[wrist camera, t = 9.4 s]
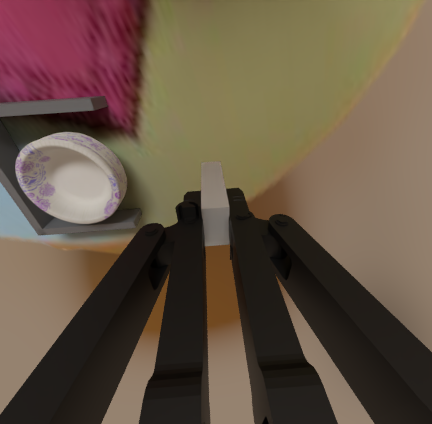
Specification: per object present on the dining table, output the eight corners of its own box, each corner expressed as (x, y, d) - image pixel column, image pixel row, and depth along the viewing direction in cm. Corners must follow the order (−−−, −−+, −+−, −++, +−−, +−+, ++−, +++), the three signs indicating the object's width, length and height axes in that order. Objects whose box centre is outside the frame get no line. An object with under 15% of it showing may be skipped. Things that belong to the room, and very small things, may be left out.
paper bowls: (140, 201, 43) (129, 223, 37) (69, 205, 43) (44, 228, 36) (119, 125, 35) (100, 136, 28) (30, 129, 34) (-12, 141, 28)
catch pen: (-19, 104, 32) (-53, 107, 28) (104, 95, 32) (90, 98, 28) (53, 220, 45) (38, 235, 40) (141, 214, 45) (135, 227, 41)
